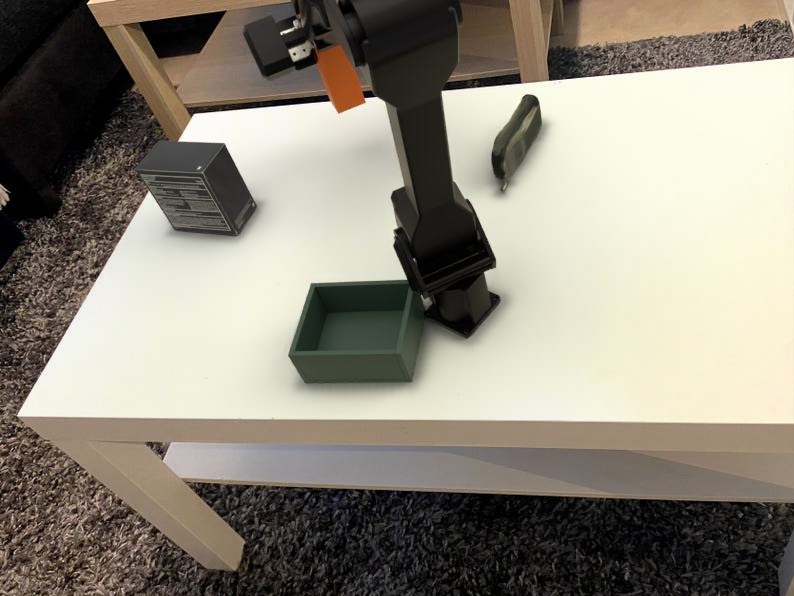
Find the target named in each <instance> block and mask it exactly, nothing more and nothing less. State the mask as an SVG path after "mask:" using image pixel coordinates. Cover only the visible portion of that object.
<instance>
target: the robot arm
mask: <svg viewBox="0 0 794 596" xmlns="http://www.w3.org/2000/svg"><path fill="white" fill-rule="evenodd" d="M290 4H291V7H292V10H293V11H294V15H291V16H289V17H286V18H284V19H281V20H279V21H276V20H275V18H274V16H273V15H272V14H270V15H268V16H265V17H262V18H260V19H257V20H254V21H252V22H249V23H246V24H244V25H243V28H242V32H241V33H242V36H243V38H244V40H245V42H246V45H247V47H248V49H249V51H250V53H251V55H252V57H253V60H254V62H255V64H256V67H257V69H258V71H259V73H260V75H261V77H262V79H263V80H265V81H267V82H273V81H275V80H277V79H281V78H283V77H285V76H288V75H291V73H292V72H294V71H296V72H299V71H300V72H301V71H302V70H305V69H308V68H310V67H312V66H315V65H317V62H318V60H317V58H316V56H315V54H314V51H313V49H312V48H315V47H316V50H317V52H318V53H321V52H323V51H326V50H328V49H331V48H333V47H336V46H338V45H341V47H342V49H343V51H344V52H345V54H346V56H347V58H348V60H349V62H350V64H351V65H352V67H353V68H354V69H355V70H356V69H359V70H360V72H361V74H362V76H363V77H364V79H365V81H366V82H367V84H368V87H369V88H370V90H371V92H372V94H373V96H375V97H376V98H378V99H379V100H381V101H382V102H384V104H385V108H386V112H387V117H388V121H389V125H390V130H391V134H392V139H393V142H394V147H395V151H396V156H397V160H398V164H399V167H400V168H399V169H400V172H401V177H402V181H403V186H402V187H398V188H396V189H394V190H392V192H391V195H390V202H391V205H392V208H393V213H394V218H395V223H396V227H397V228H394V229H393V230H392V233H393V240H394V241H393V244H392V248H393V250H394V252H395V254H396V257H397V259H398V262H399V263H400V266H401V269H402V270H403V273H404V276H405V278H406V280H407V281H408V283H409V286H410V288H411V290H412V291H415V292H418V293H420V295H421V296H422V299H423V301H424V300H427V299H429V302H431V304H430V305H428V307H427V308H426V310H425V312H424V315H425V316H424V318H425V319H427V320H429V321H431V322H434V323H435V324H438V325H440V327H444V328H445V329H448V330H450V331H451V332H454V333H455V334H458V335H459V336H461V337H464V338H469V337H470V336H472V335H473V333H474V332H475V331H476V330H477V329H478V328H479V326H480V325H481V324H482V323H483V322H484V321H485V320H486V318H487V317H489V315H490V314H491V313H492V312H493V311H494V309H495V308H496V307H497V306H498V305H499V304H500V303H501V300H502V299H501V296H500V295H499V294H497V293H495V292H493V291H490V290H489V288H488V287H489V286H488V282H487V279H486V274H485V272H487V271H489V270H494V269H496V268H497V258H496V256H495V253H494V251H493V248H492V246H491V244H490V242H489V239H488V237H487V235H486V232H485V230H484V228H483V225H482V223H481V221H480V219H479V217H478V214H477V212H476V210H475V207H474V205H473V204H472V202H471V201H470V199H468V198H465V197H464V195H463V193H462V191H461V190H460V188H459V186H458V184H457V183H456V181H454V177H453V169H452V160H451V154H450V153H451V152H450V146H449V137H448V130H447V122H446V114H445V107H444V100H443V90H444V88H445V86H446V85H447V83H448V82H449V80H450V78H451V76H452V74H453V73H454V72H455V70H456V68H457V67H458V65H459V63H460V41H461V40H460V28H461V27H463V21H464V15H463V10H462V6H461V2H460V0H290ZM299 14H300V16H301V18H299V17H297V16H298V15H299ZM308 40H309V41H308Z"/></svg>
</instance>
